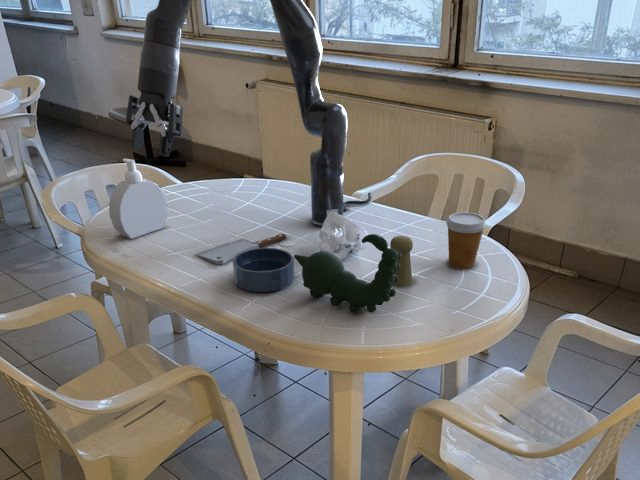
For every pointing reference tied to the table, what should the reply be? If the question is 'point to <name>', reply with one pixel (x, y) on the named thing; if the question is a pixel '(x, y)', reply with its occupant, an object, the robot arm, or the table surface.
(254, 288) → the bowl
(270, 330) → the table surface
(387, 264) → the toy figurine
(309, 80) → the robot arm
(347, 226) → the skull bowl
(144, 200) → the soap bottle
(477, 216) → the disposable coffee cup
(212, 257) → the kitchen cleaver
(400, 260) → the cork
